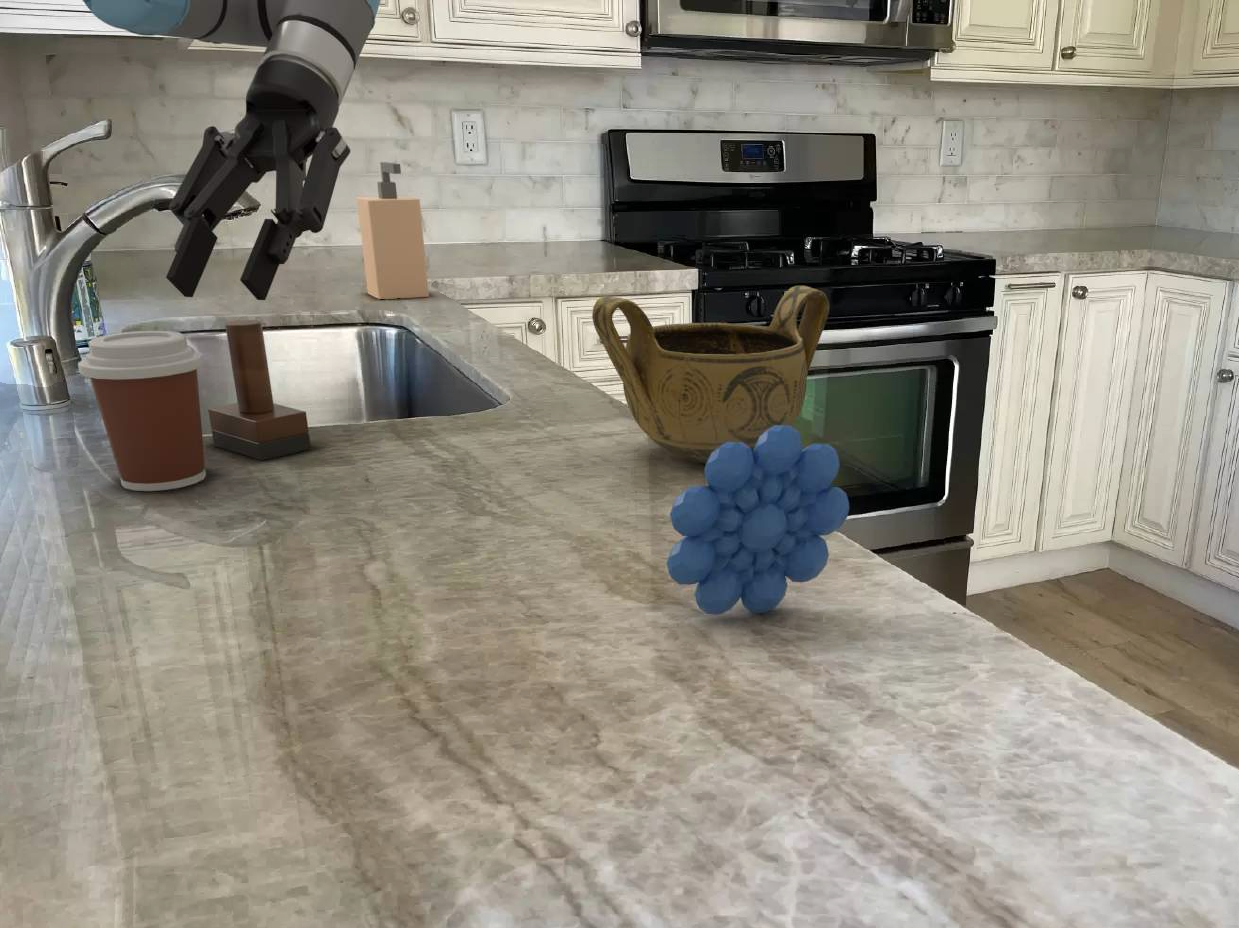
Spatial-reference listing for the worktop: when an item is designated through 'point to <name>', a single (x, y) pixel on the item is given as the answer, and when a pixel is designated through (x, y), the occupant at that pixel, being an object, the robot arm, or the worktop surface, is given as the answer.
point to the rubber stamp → (255, 403)
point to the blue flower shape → (757, 521)
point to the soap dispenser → (392, 241)
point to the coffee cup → (149, 406)
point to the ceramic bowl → (714, 372)
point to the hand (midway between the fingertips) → (215, 288)
